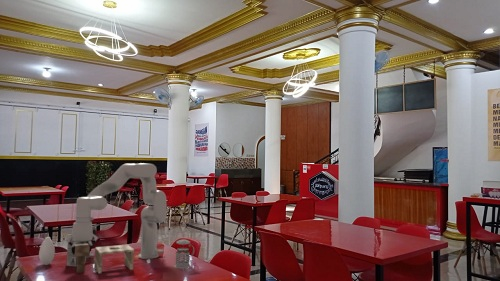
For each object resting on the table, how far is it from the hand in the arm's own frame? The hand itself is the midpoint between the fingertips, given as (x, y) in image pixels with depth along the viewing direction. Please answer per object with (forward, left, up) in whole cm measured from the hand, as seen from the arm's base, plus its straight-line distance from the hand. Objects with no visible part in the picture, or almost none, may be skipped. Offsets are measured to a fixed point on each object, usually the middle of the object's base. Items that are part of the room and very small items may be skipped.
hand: (81, 253), depth 206 cm
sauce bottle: (+15, -23, -10) cm, 29 cm away
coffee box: (0, -17, -10) cm, 20 cm away
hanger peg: (0, 0, -10) cm, 10 cm away
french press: (-54, +13, -10) cm, 56 cm away
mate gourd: (-7, -35, -10) cm, 37 cm away
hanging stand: (-17, +1, -10) cm, 20 cm away
